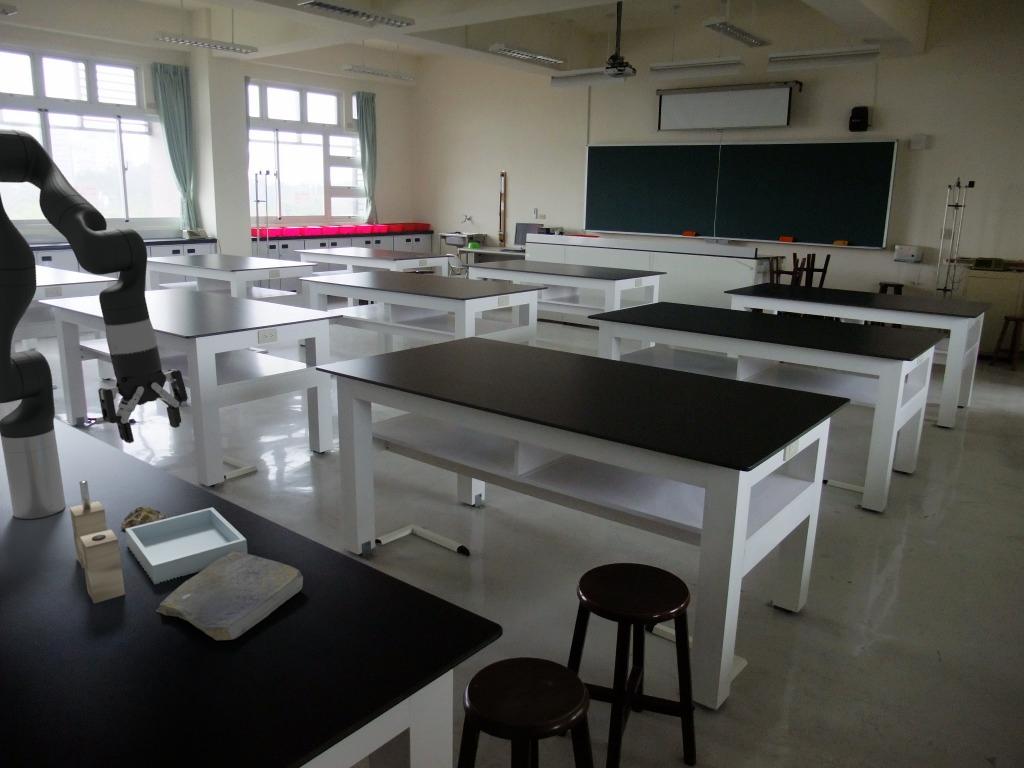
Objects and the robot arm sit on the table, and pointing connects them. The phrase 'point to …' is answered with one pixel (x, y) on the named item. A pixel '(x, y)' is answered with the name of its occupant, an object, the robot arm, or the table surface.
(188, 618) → the fossil
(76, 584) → the table surface
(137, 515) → the mineral rock
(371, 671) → the table surface
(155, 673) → the table surface
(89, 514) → the block
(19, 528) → the table surface
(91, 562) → the block
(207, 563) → the tray
